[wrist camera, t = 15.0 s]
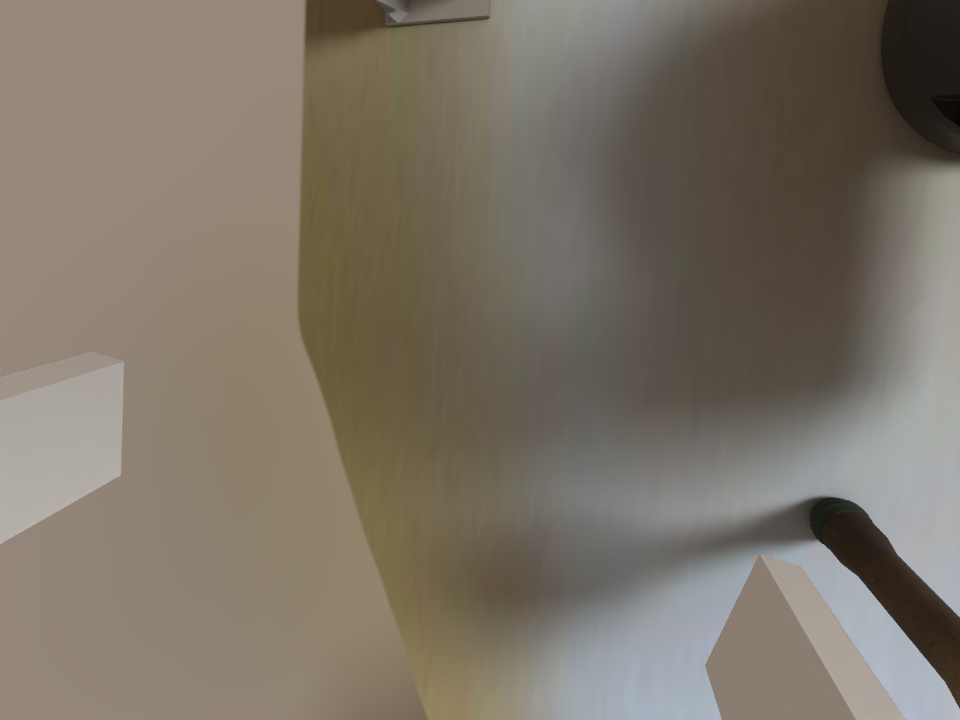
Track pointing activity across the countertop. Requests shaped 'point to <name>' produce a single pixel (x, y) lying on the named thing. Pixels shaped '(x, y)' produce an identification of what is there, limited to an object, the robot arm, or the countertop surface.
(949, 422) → the countertop surface
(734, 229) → the countertop surface
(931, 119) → the robot arm
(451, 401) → the countertop surface
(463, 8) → the skyscraper
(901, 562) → the stick grenade
